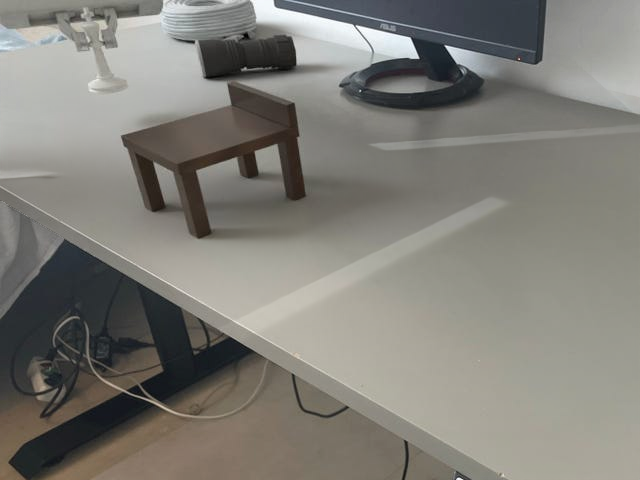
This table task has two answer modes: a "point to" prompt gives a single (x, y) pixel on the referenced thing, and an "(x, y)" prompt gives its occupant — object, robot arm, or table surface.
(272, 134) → the wooden bench with backrest
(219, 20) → the cable
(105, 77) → the chess piece
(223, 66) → the flashlight
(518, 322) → the table surface
